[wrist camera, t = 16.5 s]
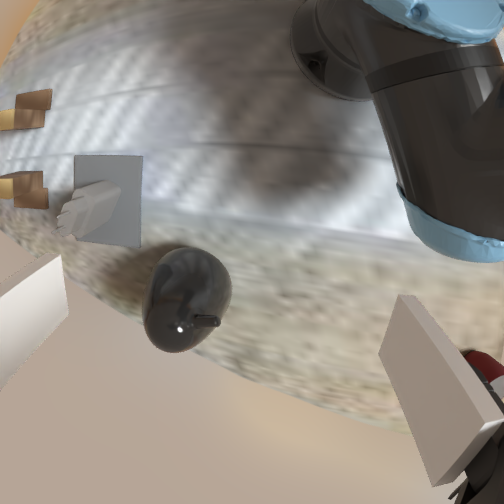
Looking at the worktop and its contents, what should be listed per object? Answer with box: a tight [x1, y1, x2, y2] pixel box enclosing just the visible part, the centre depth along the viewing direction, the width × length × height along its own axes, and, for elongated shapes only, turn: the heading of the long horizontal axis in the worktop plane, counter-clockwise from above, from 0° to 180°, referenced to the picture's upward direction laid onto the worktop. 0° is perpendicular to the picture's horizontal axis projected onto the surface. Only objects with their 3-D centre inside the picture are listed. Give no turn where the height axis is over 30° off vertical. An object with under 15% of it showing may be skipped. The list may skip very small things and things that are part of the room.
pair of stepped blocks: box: [0, 89, 52, 209], centre depth 34 cm, size 18×7×8 cm, turn 174°
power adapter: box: [52, 180, 121, 238], centre depth 33 cm, size 3×5×12 cm, turn 149°
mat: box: [75, 155, 143, 248], centre depth 39 cm, size 12×10×1 cm
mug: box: [464, 351, 504, 400], centre depth 42 cm, size 11×8×10 cm
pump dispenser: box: [142, 247, 232, 353], centre depth 35 cm, size 10×10×15 cm
